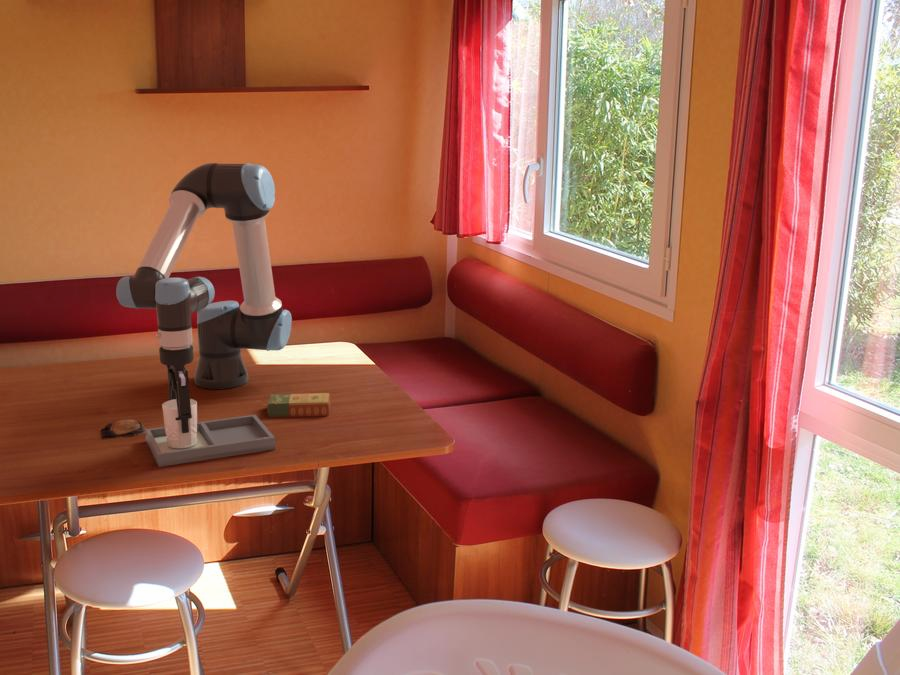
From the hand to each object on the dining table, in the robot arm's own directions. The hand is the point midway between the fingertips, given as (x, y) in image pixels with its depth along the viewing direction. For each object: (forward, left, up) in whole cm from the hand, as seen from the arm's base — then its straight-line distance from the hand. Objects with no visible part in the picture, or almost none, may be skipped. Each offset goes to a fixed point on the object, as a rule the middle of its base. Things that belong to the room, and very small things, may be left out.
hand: (181, 438), depth 234 cm
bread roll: (-18, -11, -3) cm, 21 cm away
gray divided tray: (0, +6, -3) cm, 7 cm away
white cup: (0, 0, -1) cm, 1 cm away
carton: (-16, +33, -3) cm, 37 cm away
